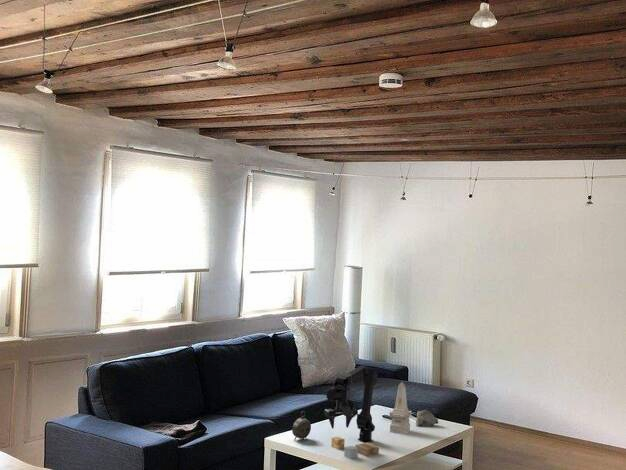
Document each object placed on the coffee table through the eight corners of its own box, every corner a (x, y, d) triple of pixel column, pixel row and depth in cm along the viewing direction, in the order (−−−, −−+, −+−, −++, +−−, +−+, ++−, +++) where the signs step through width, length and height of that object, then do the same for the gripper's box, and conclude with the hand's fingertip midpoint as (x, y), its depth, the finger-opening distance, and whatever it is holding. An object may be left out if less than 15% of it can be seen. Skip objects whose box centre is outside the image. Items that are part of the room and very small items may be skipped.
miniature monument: (388, 432, 404) (391, 381, 404) (394, 427, 413) (396, 379, 413) (405, 434, 399) (407, 384, 399) (410, 430, 409) (413, 381, 409)
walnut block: (367, 449, 369) (368, 442, 369) (378, 454, 361) (378, 447, 361) (354, 452, 363) (355, 444, 363) (365, 457, 356) (366, 449, 356)
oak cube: (338, 445, 373) (338, 436, 373) (344, 448, 369) (344, 438, 369) (331, 446, 370) (331, 437, 370) (337, 449, 366) (337, 440, 366)
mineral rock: (439, 425, 423) (439, 409, 423) (433, 429, 413) (434, 413, 413) (419, 422, 429) (420, 406, 429) (413, 426, 420) (414, 409, 420)
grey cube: (351, 454, 358) (351, 445, 358) (357, 457, 354) (358, 448, 354) (344, 456, 355) (344, 446, 355) (350, 459, 351) (350, 449, 351)
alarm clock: (305, 437, 385) (307, 408, 385) (312, 439, 381) (313, 411, 381) (291, 440, 378) (292, 411, 378) (297, 442, 374) (298, 413, 374)
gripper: (334, 403, 355) (332, 433, 354) (364, 401, 364) (362, 430, 364) (324, 398, 365) (322, 427, 364) (353, 397, 374) (351, 425, 373)
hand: (339, 427), depth 366 cm, fingers open, 9 cm apart
